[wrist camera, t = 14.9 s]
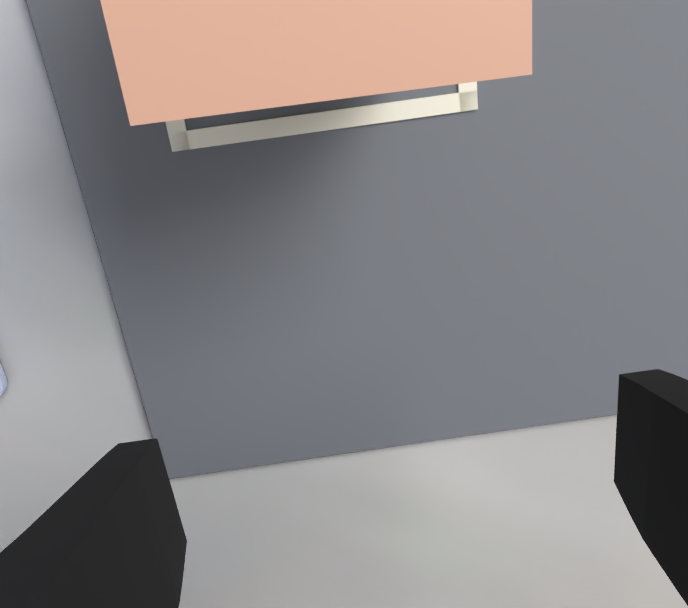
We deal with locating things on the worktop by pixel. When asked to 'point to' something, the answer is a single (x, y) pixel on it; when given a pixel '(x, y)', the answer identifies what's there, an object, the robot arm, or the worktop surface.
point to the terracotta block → (305, 50)
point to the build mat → (392, 242)
